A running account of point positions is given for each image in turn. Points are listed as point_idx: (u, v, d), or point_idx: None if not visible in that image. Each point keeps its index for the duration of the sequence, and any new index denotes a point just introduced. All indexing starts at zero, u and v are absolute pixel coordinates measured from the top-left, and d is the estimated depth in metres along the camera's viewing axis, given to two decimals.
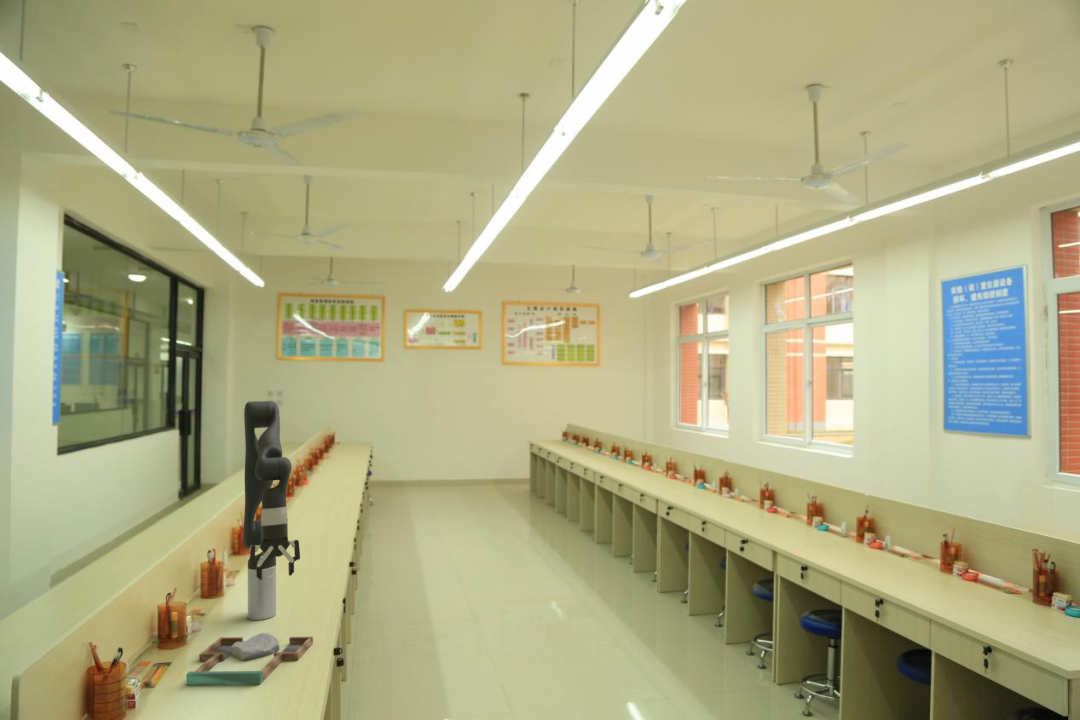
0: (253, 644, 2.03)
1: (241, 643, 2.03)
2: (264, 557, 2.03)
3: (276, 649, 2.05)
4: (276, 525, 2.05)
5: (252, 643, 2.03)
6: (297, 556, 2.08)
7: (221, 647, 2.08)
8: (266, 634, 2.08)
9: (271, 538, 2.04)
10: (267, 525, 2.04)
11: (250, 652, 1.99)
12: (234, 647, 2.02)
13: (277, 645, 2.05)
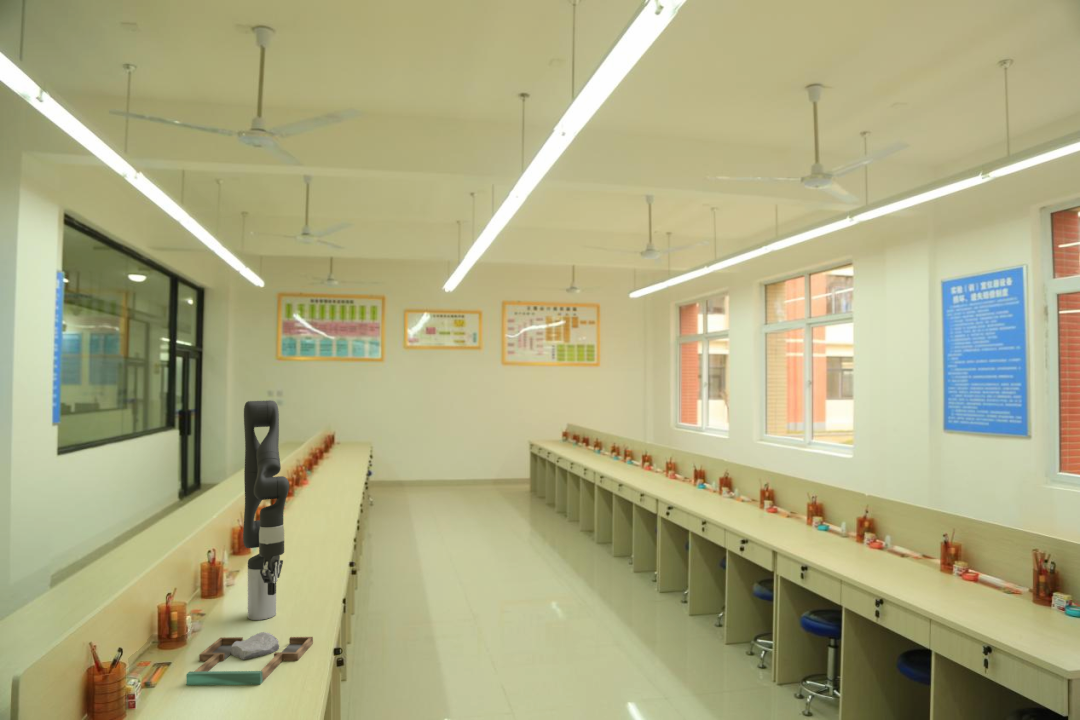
0: (253, 643, 2.03)
1: (241, 642, 2.04)
2: (275, 573, 2.15)
3: (276, 648, 2.05)
4: (283, 541, 2.16)
5: (252, 642, 2.04)
6: (278, 575, 2.18)
7: (221, 647, 2.08)
8: (265, 633, 2.09)
9: (280, 554, 2.15)
10: (277, 542, 2.14)
11: (250, 651, 1.99)
12: (234, 647, 2.02)
13: (277, 644, 2.06)
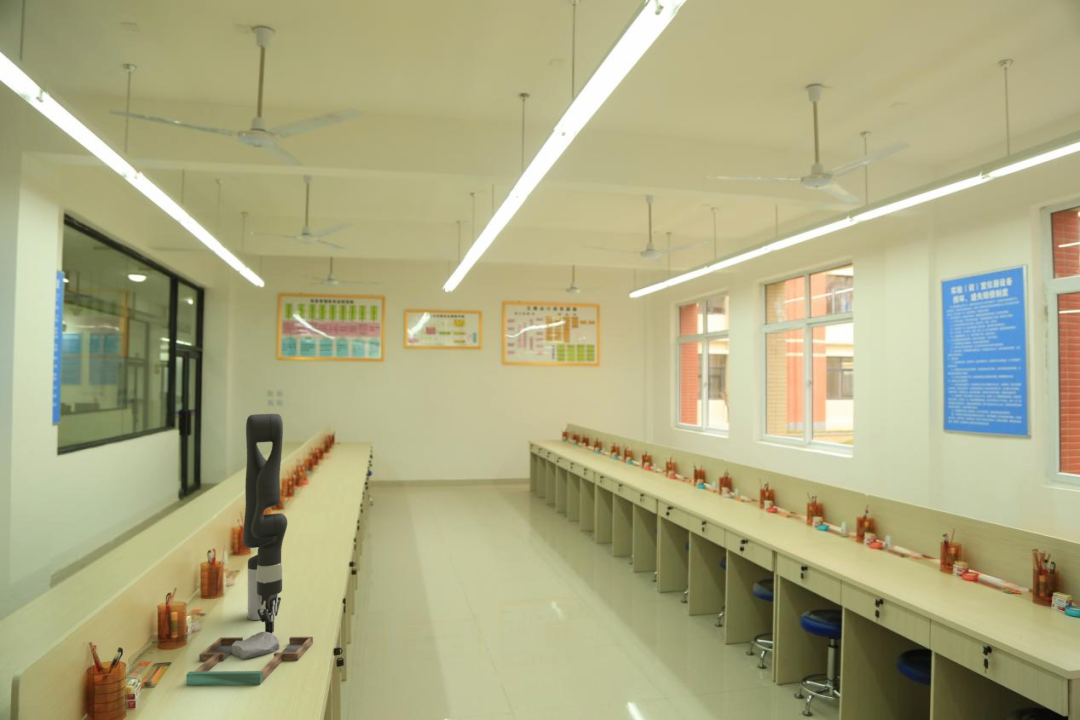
0: (253, 643, 2.04)
1: (241, 642, 2.04)
2: (273, 611, 2.12)
3: (276, 648, 2.06)
4: (281, 579, 2.14)
5: (253, 642, 2.04)
6: (276, 612, 2.16)
7: (221, 647, 2.08)
8: (266, 633, 2.09)
9: (278, 592, 2.12)
10: (275, 581, 2.11)
11: (251, 651, 1.99)
12: (234, 646, 2.03)
13: (277, 644, 2.06)
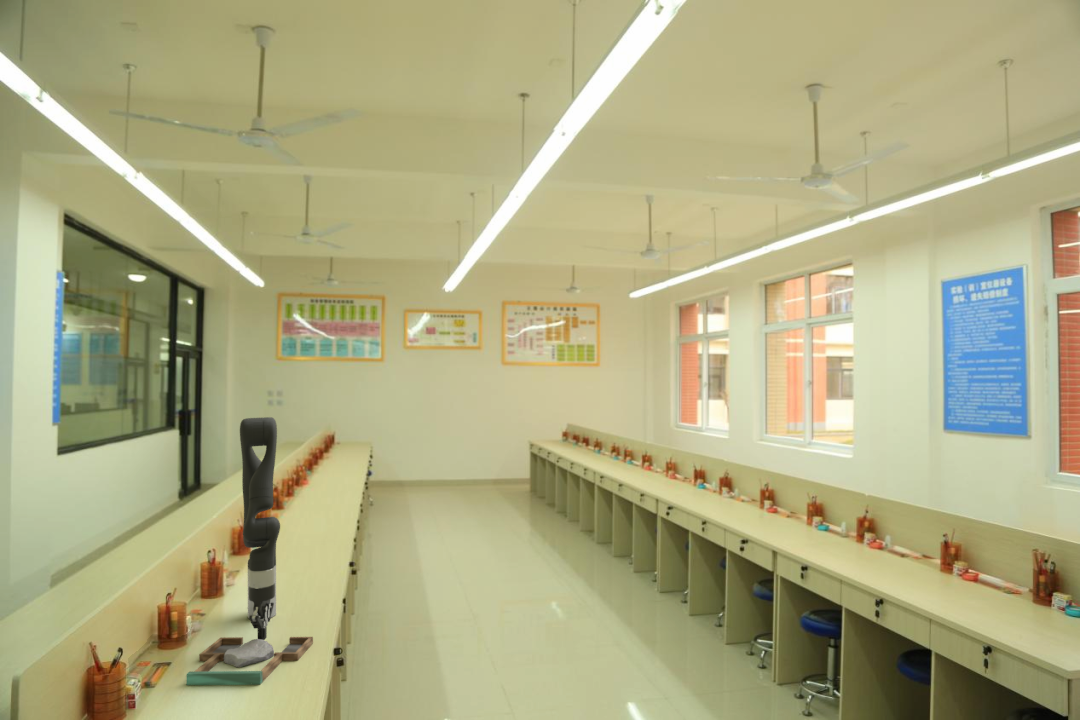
0: (247, 651, 1.98)
1: (234, 650, 1.98)
2: (266, 618, 2.07)
3: (271, 655, 2.01)
4: (274, 585, 2.08)
5: (246, 650, 1.99)
6: (269, 618, 2.10)
7: (221, 647, 2.08)
8: (259, 640, 2.04)
9: (271, 598, 2.06)
10: (268, 586, 2.06)
11: (245, 659, 1.94)
12: (227, 654, 1.97)
13: (272, 651, 2.01)
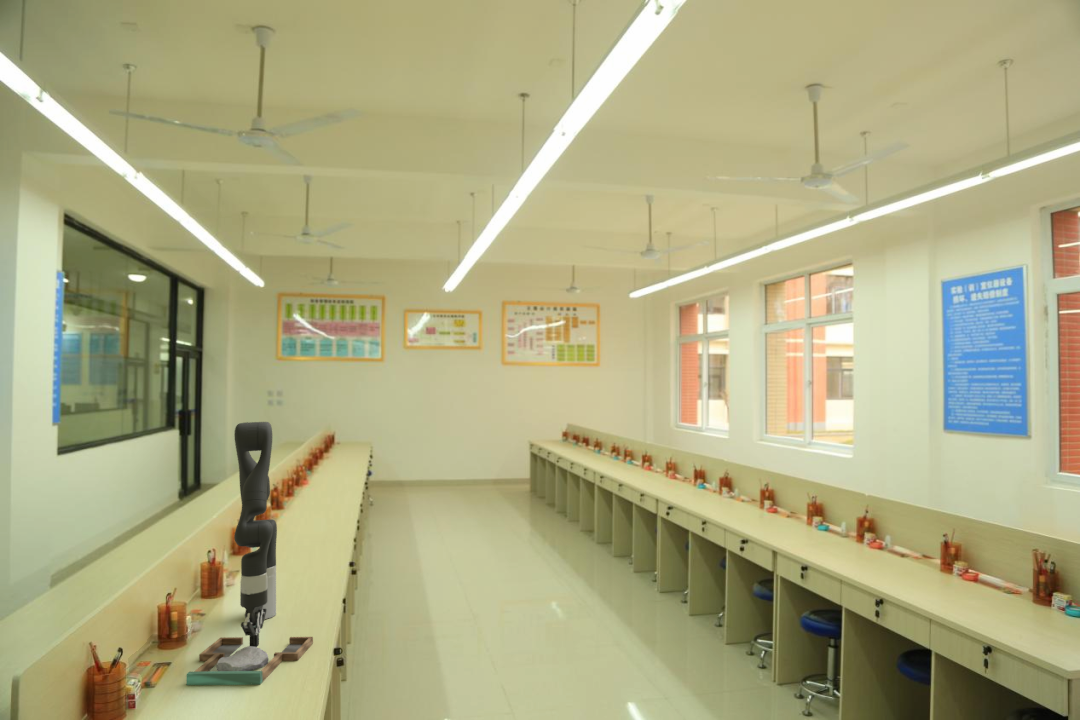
0: (241, 658, 1.92)
1: (227, 658, 1.92)
2: (258, 624, 2.01)
3: (266, 662, 1.95)
4: (266, 590, 2.03)
5: (240, 658, 1.93)
6: (261, 625, 2.05)
7: (221, 647, 2.08)
8: (252, 647, 1.98)
9: (263, 604, 2.01)
10: (260, 592, 2.00)
11: (241, 667, 1.89)
12: (221, 663, 1.91)
13: (267, 658, 1.96)
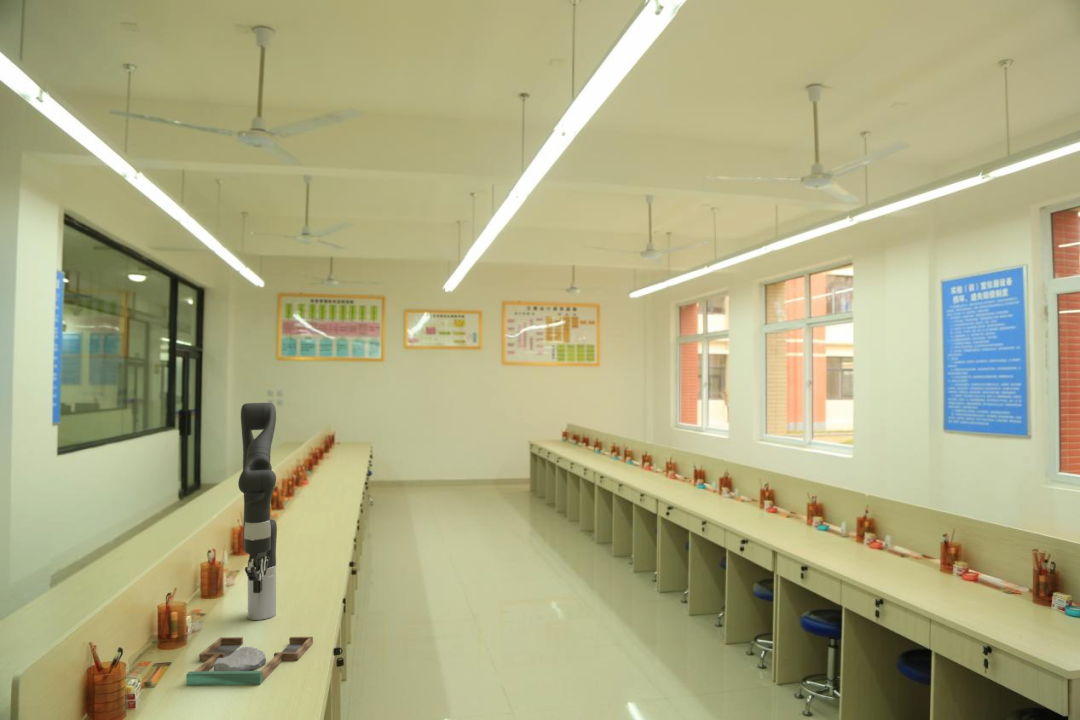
0: (239, 659, 1.92)
1: (225, 659, 1.92)
2: (261, 570, 2.06)
3: (263, 662, 1.95)
4: (270, 537, 2.07)
5: (238, 658, 1.92)
6: (265, 572, 2.09)
7: (221, 647, 2.08)
8: (249, 648, 1.98)
9: (266, 550, 2.05)
10: (263, 538, 2.04)
11: (239, 667, 1.88)
12: (218, 664, 1.90)
13: (264, 658, 1.95)
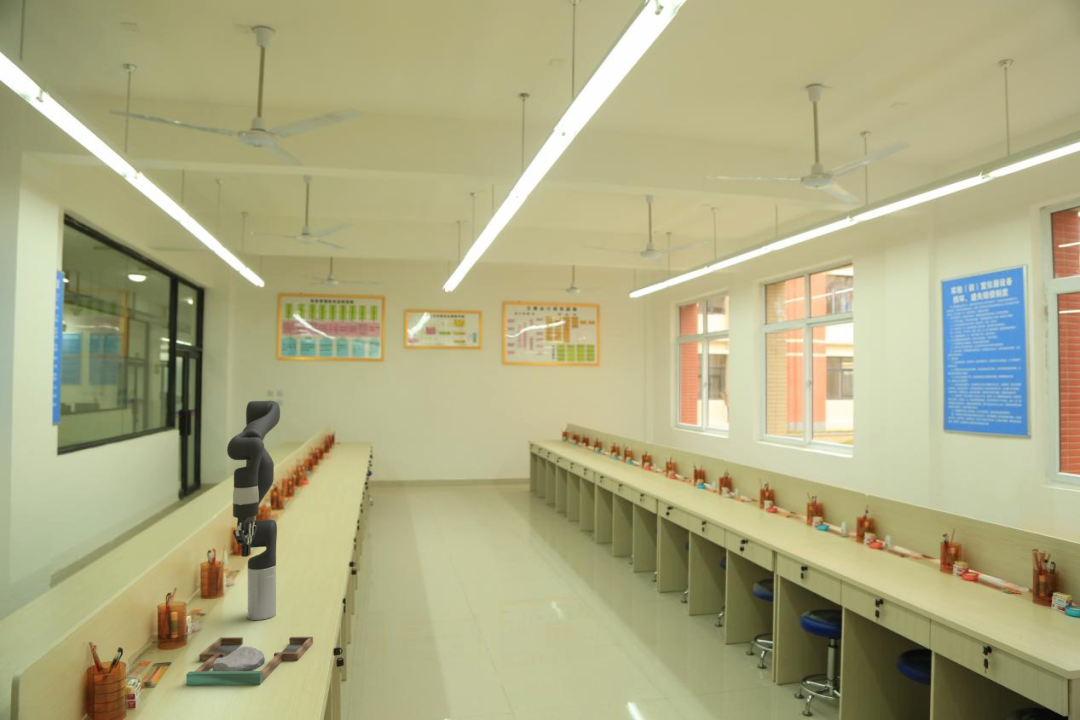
0: (238, 659, 1.92)
1: (224, 659, 1.92)
2: (249, 534, 2.12)
3: (262, 662, 1.96)
4: (258, 502, 2.14)
5: (237, 658, 1.93)
6: (253, 536, 2.16)
7: (221, 647, 2.08)
8: (248, 647, 1.98)
9: (254, 515, 2.12)
10: (251, 503, 2.11)
11: (238, 667, 1.88)
12: (217, 663, 1.90)
13: (263, 658, 1.96)
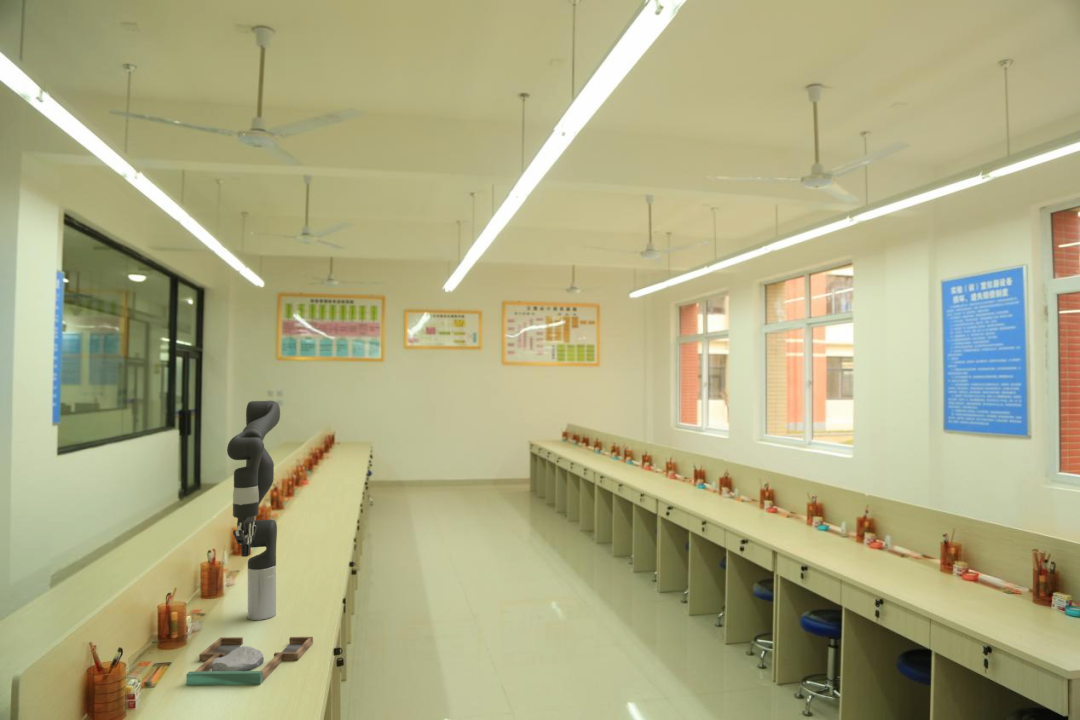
0: (237, 658, 1.92)
1: (223, 659, 1.92)
2: (249, 534, 2.12)
3: (261, 662, 1.96)
4: (258, 502, 2.14)
5: (236, 657, 1.93)
6: (253, 536, 2.16)
7: (221, 647, 2.08)
8: (247, 647, 1.98)
9: (254, 515, 2.12)
10: (251, 503, 2.11)
11: (237, 667, 1.89)
12: (216, 663, 1.90)
13: (262, 657, 1.96)
